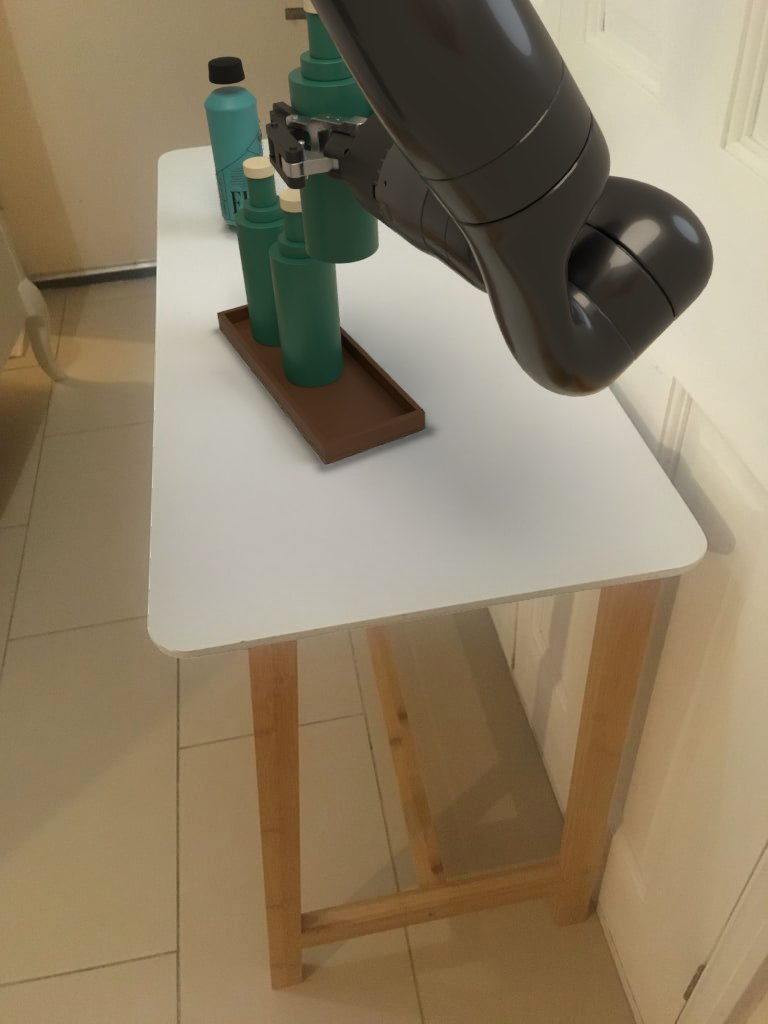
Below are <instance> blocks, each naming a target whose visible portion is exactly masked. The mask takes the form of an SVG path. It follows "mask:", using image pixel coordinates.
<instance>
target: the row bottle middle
mask: <svg viewBox="0 0 768 1024" xmlns="http://www.w3.org/2000/svg"><path fill="white" fill-rule="evenodd" d="M278 196H279V198H280V206H281V208H282V209H283V218H284V227H285V230H284V231H283V232H281V233H280V234H279V236H278V241H277V242H275V243H274V244H273V245H272V246H271V247H270V249H269V258H270V265H271V273H272V281H273V289H274V297H275V305H276V312H277V320H278V328H279V336H280V344H281V352H282V359H283V367H284V375H285V377H286V378H287V380H288V381H290V382H291V383H293V384H295V385H298V386H302V387H320V386H324V385H327V384H330V383H332V382H334V381H336V380H337V379H338V378H339V377H340V376H341V374H342V372H343V359H342V346H341V332H340V326H341V319H340V307H339V306H340V305H339V292H338V278H337V264H333V263H325V262H321V261H318V260H315V259H313V258H311V257H310V256H309V255H308V254H307V252H306V248H305V238H304V229H303V219H302V209H301V199H300V189H290V188H287V189H284V190H282V191H281V192H280V193H279V195H278Z"/></svg>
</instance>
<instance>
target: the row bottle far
mask: <svg viewBox="0 0 768 1024" xmlns="http://www.w3.org/2000/svg"><path fill="white" fill-rule="evenodd" d="M243 169H244V175H245V176H246V179H247V186H248V193H249V198H247V199H246V200H245V201H244V202H243V208H242V209H240V210H239V211H238V212H237V213H236V214H235V217H234V218H235V225H236V226H235V230H236V237H237V244H238V250H239V259H240V264H241V271H242V278H243V284H244V289H245V290H244V291H245V296H246V304H248V310H249V317H250V324H251V330H252V336H253V338H254V340H255V341H256V342H258V343H260V344H262V345H265V346H270V347H281V344H280V336H279V328H278V320H277V312H276V305H275V297H274V289H273V281H272V273H271V265H270V258H269V249H270V247H271V246H272V245H273V244H274V243H275V242H277V241H278V236H279V234H280V233H281V232H283V231H284V230H285V227H284V218H283V209H282V208H281V206H280V198H279V195H277V188H276V180H275V179H276V177H275V173H276V170H275V168H274V167H273V166H272V164H271V163H270V159H269V156H263V157H253V158H249V159H247V160H245V161H244V162H243Z"/></svg>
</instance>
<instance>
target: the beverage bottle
mask: <svg viewBox="0 0 768 1024" xmlns="http://www.w3.org/2000/svg"><path fill="white" fill-rule="evenodd" d="M207 69H208V70H207V71H208V81H209V82H210V84H214V85H221V86H222V87H218V88H215V89H213V90H212V91H211V92H210V94H209V95H208V96H207V97H206V99H205V100H204V103H203V107H204V109H205V110H204V111H205V116H206V122H207V128H208V134H209V139H210V145H211V152H212V157H213V158H212V159H213V163H214V171H215V174H214V175H215V180H216V181H215V182H216V186H217V188H216V190H217V193H218V200H219V201H218V202H219V206H220V207H219V208H220V209H219V210H220V213H221V217H222V219H223V221H224V222H225V223H226V224H228V225H231V226H233V227H236V225H235V218H234V217H235V214H236V213H237V212H238V211H239V210H240V209H242V208H243V202H244V201H245V200H246V199H247V198H249V193H248V186H247V179H246V176H245V175H244V169H243V162H244V161H245V160H247V159H249V158H253V157H264V148H265V147H264V142H263V133H262V129H261V124H260V123H261V120H260V118H259V113H258V105H257V104H258V100H257V97H256V96H255V94H253V93H252V92H251V91H250V90H248V89H247V88H246V87H243V86H239V85H233V84H238V83H240V82H241V83H242V82H243V81H244V80H245V79H246V75H245V71H244V67H243V62H242V59H241V58H239V57H236V56H220V57H219V56H218V57H215V58H213V59H212V58H211V59H210V60H209V61H208V63H207ZM225 85H226V86H225ZM227 85H228V86H227Z"/></svg>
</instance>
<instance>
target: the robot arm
mask: <svg viewBox="0 0 768 1024" xmlns="http://www.w3.org/2000/svg"><path fill="white" fill-rule="evenodd" d="M310 1H311V3H312V5H313V7H314V8H315V10H316V12H317V14H318V15H319V17H320V19H321V21H322V22H323V24H324V26H325V28H326V30H327V31H328V33H329V35H330V37H331V38H332V40H333V42H334V44H335V46H336V47H337V49H338V51H339V53H340V55H341V56H342V58H343V60H344V62H345V64H346V66H347V67H348V69H349V71H350V73H351V74H352V76H353V78H354V80H355V82H356V83H357V85H358V87H359V88H360V90H361V92H362V94H363V95H364V97H365V99H366V100H367V102H368V103H369V105H370V107H371V108H372V110H373V114H372V115H371V116H370V117H368V118H364V117H359V116H354V117H352V118H346V117H341V116H336V115H332V114H327V113H322V114H319V115H317V116H315V117H313V118H311V117H307V116H302V114H301V113H299V112H298V111H296V110H295V109H293V108H292V107H291V105H289V104H287V103H286V102H284V101H278V102H274V103H272V110H269V112H268V113H269V120H270V122H268V123H266V124H265V133H266V136H267V144H268V145H267V146H268V157H269V159H270V163H271V164H272V166H273V167H274V168H275V172H276V173H277V174H278V175H279V177H280V178H281V179H282V181H283V182H284V183H285V185H286V186H287V188H288V189H301V188H304V187H305V186H306V179H308V175H312V174H317V173H323V172H326V174H327V175H328V176H329V177H330V178H332V179H336V180H340V181H344V182H346V183H347V185H348V186H349V188H350V189H351V191H352V193H353V194H354V196H355V198H356V199H357V201H358V202H359V203H360V205H361V206H362V207H363V208H364V209H365V210H367V211H368V212H369V213H370V214H372V215H373V216H374V217H376V218H377V219H378V221H380V222H381V223H383V225H385V226H386V227H388V228H389V230H391V231H392V232H394V233H395V234H397V235H398V236H400V238H402V239H403V240H404V241H406V243H408V244H410V245H411V246H412V247H414V248H416V250H419V252H422V253H424V254H426V255H428V256H430V257H433V258H435V259H436V260H438V261H439V262H440V263H442V264H443V265H444V266H445V267H447V268H448V269H450V270H451V271H452V272H454V274H456V275H457V276H459V277H460V278H462V279H463V280H464V281H465V282H467V283H468V284H469V285H471V286H472V287H474V288H475V289H477V290H479V291H481V292H483V293H484V294H487V297H488V299H489V302H490V305H491V309H492V312H493V315H494V319H495V321H496V323H497V326H498V328H499V331H500V333H501V335H502V338H503V340H504V342H505V344H506V347H507V348H508V350H509V352H510V354H511V355H512V357H513V359H514V360H515V362H516V363H517V365H518V366H519V367H520V369H522V371H523V372H524V373H525V374H526V375H527V376H528V377H529V378H530V379H531V380H533V381H534V382H535V383H536V384H537V385H539V386H540V387H542V388H543V389H545V390H547V391H549V392H551V393H553V394H556V395H558V396H559V395H560V396H565V397H571V398H584V397H589V396H593V395H596V394H598V393H600V392H602V391H603V390H605V389H607V388H608V387H609V386H611V385H613V383H615V381H617V380H618V379H619V378H620V377H621V376H622V375H623V374H624V373H625V372H626V371H627V369H629V368H630V367H631V366H632V365H633V364H634V363H635V361H637V360H638V359H639V357H641V356H642V355H643V354H644V353H645V351H647V350H648V349H649V348H650V346H652V345H653V343H654V342H655V341H657V339H658V338H660V337H661V335H663V333H665V331H667V329H668V328H669V327H670V326H671V325H672V324H673V323H674V322H676V320H678V319H679V318H680V317H681V316H682V315H683V314H684V313H685V312H686V311H687V310H688V309H689V308H690V307H691V305H693V304H694V303H695V301H696V300H697V299H698V298H700V296H701V295H702V294H703V292H704V290H705V289H706V288H707V286H708V284H709V282H710V279H711V277H712V275H713V270H714V269H713V268H714V260H715V259H714V258H715V257H714V250H713V249H714V248H713V245H712V241H711V237H710V235H709V234H708V231H707V229H706V227H705V225H704V223H703V222H702V221H701V219H700V217H698V216H697V214H696V213H695V212H694V211H693V210H692V209H691V207H689V206H688V205H686V204H685V202H683V201H682V200H680V199H678V197H675V196H674V195H673V194H671V193H670V192H668V191H666V190H664V189H662V188H659V187H657V186H655V185H653V184H650V183H647V182H644V181H641V180H639V179H634V178H629V177H623V176H617V175H616V176H615V175H610V173H611V154H610V149H609V145H608V143H607V140H606V137H605V135H604V132H603V130H602V129H601V126H600V125H599V122H598V121H597V118H596V117H595V115H594V113H593V111H592V109H591V108H590V106H589V104H588V102H587V100H586V99H585V96H584V95H583V93H582V91H581V89H580V87H579V85H578V84H577V82H576V80H575V78H574V77H573V74H572V72H571V71H570V69H569V66H568V65H567V63H566V61H565V60H564V58H563V56H562V54H561V53H560V51H559V49H558V47H557V45H556V43H555V41H554V40H553V37H552V35H551V34H550V33H549V31H548V29H547V27H546V26H545V24H544V22H543V21H542V19H541V17H540V15H539V14H538V12H537V11H536V8H535V7H534V5H533V3H532V2H531V0H310ZM329 129H330V130H333V131H332V133H331V135H329ZM305 131H307V132H309V134H310V140H311V146H310V145H306V134H305Z"/></svg>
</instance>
